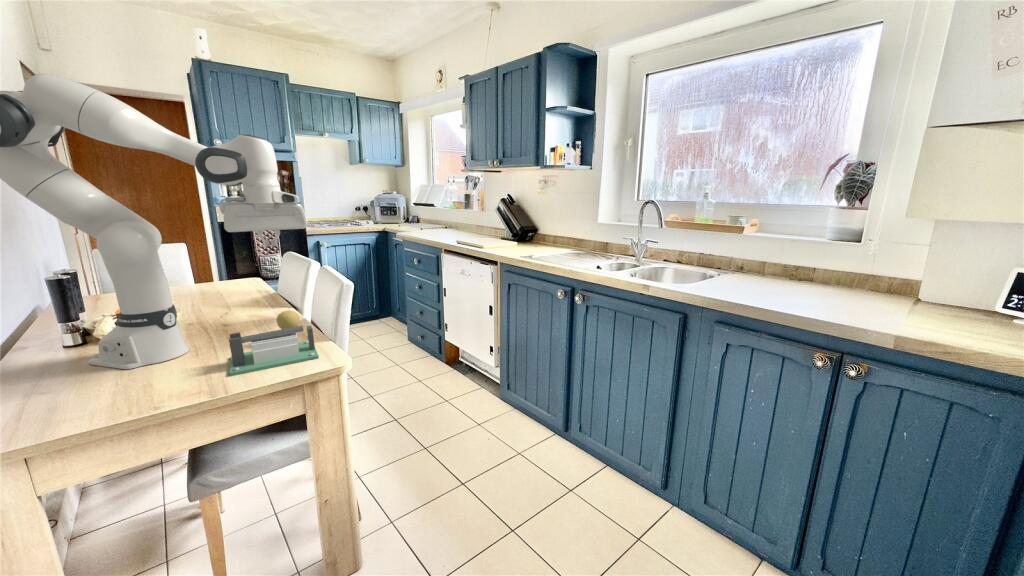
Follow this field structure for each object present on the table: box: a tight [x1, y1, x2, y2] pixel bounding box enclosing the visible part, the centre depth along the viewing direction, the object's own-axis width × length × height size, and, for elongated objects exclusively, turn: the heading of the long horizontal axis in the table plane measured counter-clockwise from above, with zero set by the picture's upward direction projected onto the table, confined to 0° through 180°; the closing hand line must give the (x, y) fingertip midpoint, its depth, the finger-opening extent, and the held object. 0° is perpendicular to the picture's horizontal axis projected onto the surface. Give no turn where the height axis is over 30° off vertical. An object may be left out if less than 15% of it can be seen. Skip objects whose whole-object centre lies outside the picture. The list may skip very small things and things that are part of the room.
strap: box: [240, 325, 305, 344], centre depth 113 cm, size 17×3×1 cm, turn 123°
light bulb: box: [276, 309, 301, 340], centre depth 127 cm, size 6×6×10 cm
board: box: [228, 325, 320, 377], centre depth 114 cm, size 21×14×8 cm, turn 123°
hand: (270, 246), depth 116 cm, fingers closed
